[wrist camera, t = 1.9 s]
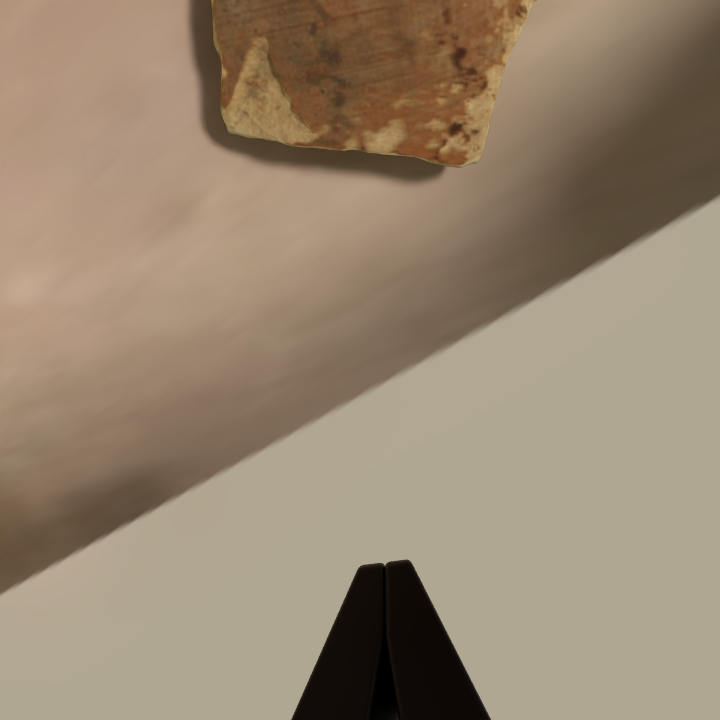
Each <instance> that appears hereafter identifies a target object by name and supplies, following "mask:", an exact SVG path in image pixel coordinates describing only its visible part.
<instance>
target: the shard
mask: <svg viewBox="0 0 720 720" xmlns="http://www.w3.org/2000/svg"><path fill="white" fill-rule="evenodd" d="M536 1H537V0H211V3H212V18H213V41H214V46H215V48H216V51H217V53H218V55H219V57H220V60H221V115H222V117H223V120H224V122H225V124H226V126H227V131H228V133H230V134H235V135H240V136H244V137H248V138H262V139H264V140H268V141H277V142H280V143H283V144H286V145H288V146H293V147H304V148H318V149H327V150H338V151H345V150H360V151H363V152H366V153H378V154H383V155H398V156H408V157H416V158H420V159H422V160H425V161H427V162H430V163H434V164H439V165H443V166H447V167H459V168H461V167H463V166H466V165H469V164H474V163H477V162H478V160H479V159H480V158H481V155H482V152H483V148H484V144H485V141H486V138H487V134H488V129H489V118H490V116H491V113H492V111H493V108H494V102H495V99H496V96H497V93H498V89H499V84H500V80H501V77H502V74H503V71H504V68H505V65H506V62H507V59H508V56H509V54H510V52H511V51H512V49H513V47H514V45H515V43H516V41H517V38H518V36H519V34H520V31H521V29H522V27H523V25H524V23H525V22H526V19H527V16H528V14H529V11H530V10H531V8H532V6H533V5H534V4H535V2H536Z"/></svg>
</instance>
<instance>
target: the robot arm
mask: <svg viewBox="0 0 720 720" xmlns="http://www.w3.org/2000/svg"><path fill="white" fill-rule="evenodd" d="M292 720H491V719H490V717H489V715H488V713H487V711H486V709H485V707H484V705H483V703H482V701H481V699H480V697H479V695H478V693H477V691H476V689H475V687H474V685H473V683H472V681H471V679H470V677H469V675H468V673H467V671H466V669H465V667H464V665H463V663H462V661H461V659H460V657H459V655H458V654H457V651H456V649H455V648H454V645H453V644H452V642H451V640H450V638H449V636H448V634H447V632H446V630H445V628H444V626H443V624H442V622H441V620H440V618H439V616H438V614H437V612H436V610H435V608H434V606H433V604H432V602H431V600H430V598H429V596H428V594H427V592H426V590H425V589H424V586H423V584H422V582H421V580H420V578H419V576H418V574H417V572H416V571H415V568H414V566H413V565H412V563H411V562H410V561H409V560H399V561H391V562H388V563H387V564H386V566H385V565H384V564H383V563H376V564H368V565H362V566H360V567H359V568H358V570H357V572H356V574H355V576H354V579H353V581H352V583H351V586H350V588H349V590H348V592H347V595H346V597H345V599H344V601H343V604H342V606H341V608H340V611H339V613H338V615H337V617H336V620H335V622H334V624H333V626H332V629H331V631H330V633H329V635H328V638H327V640H326V642H325V645H324V647H323V649H322V652H321V654H320V656H319V658H318V661H317V663H316V665H315V667H314V669H313V672H312V674H311V676H310V678H309V681H308V683H307V685H306V688H305V690H304V692H303V694H302V697H301V699H300V701H299V703H298V706H297V708H296V710H295V712H294V715H293V717H292Z"/></svg>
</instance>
